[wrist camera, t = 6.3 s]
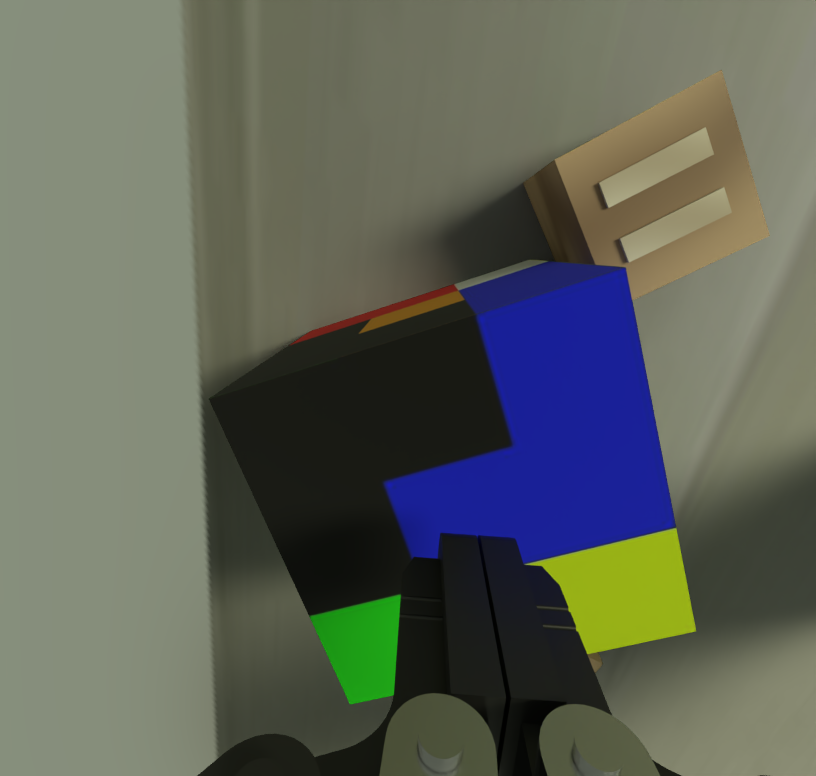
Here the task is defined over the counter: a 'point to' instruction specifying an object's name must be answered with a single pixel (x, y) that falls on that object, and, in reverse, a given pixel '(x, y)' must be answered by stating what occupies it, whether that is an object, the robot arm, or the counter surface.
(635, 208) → the two bar block
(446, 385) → the puzzle toy
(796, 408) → the counter surface
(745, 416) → the counter surface
